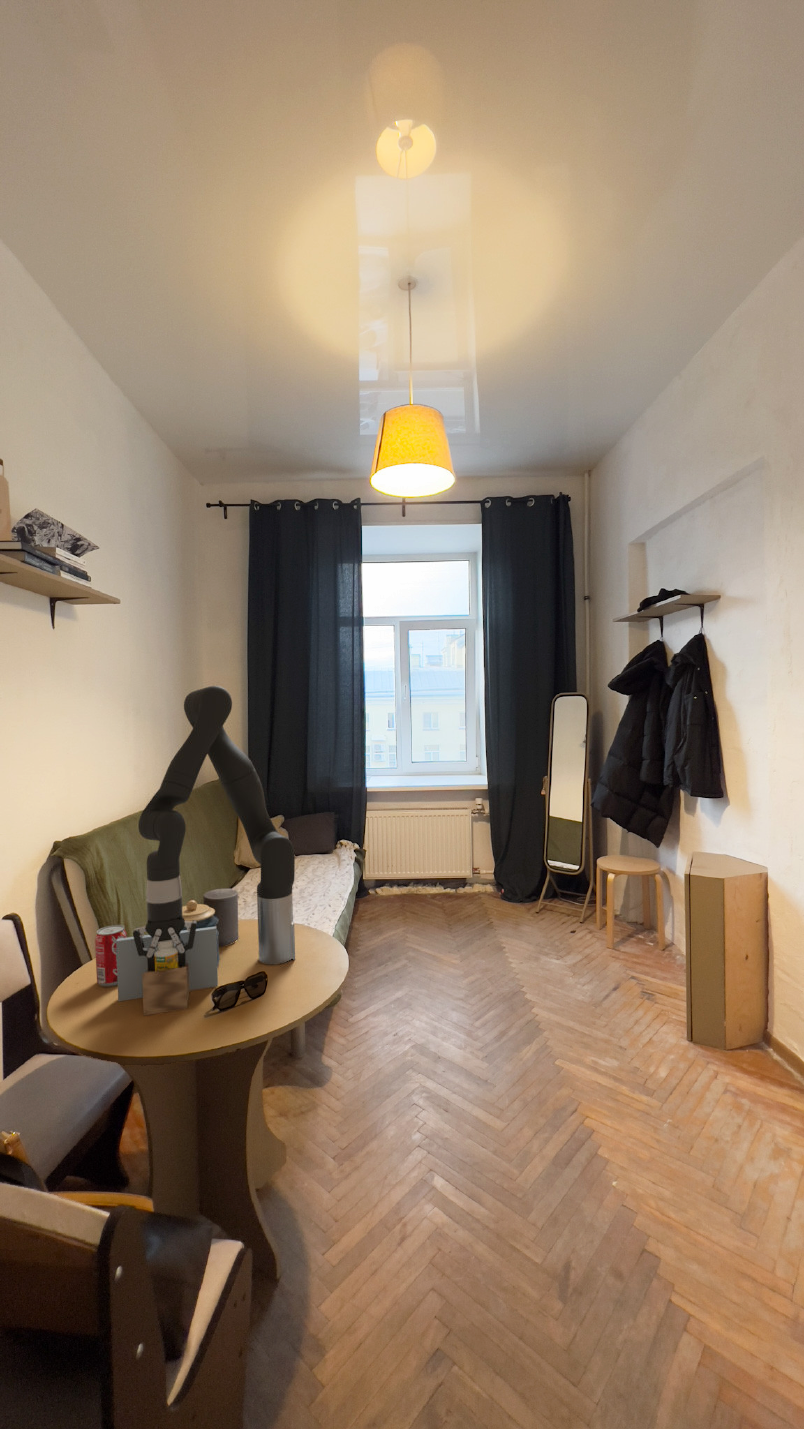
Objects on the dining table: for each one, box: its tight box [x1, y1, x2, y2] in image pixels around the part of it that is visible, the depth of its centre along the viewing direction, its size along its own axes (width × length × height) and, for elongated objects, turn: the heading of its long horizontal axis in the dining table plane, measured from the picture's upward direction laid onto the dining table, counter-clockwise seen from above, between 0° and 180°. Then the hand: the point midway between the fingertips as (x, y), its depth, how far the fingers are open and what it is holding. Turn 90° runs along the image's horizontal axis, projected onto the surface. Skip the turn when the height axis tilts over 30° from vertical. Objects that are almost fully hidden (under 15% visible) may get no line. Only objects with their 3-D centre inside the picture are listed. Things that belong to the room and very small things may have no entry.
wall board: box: [116, 927, 219, 1002], centre depth 143 cm, size 22×2×14 cm, turn 107°
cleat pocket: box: [142, 964, 190, 1016], centre depth 138 cm, size 9×9×9 cm
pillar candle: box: [202, 888, 239, 948], centre depth 174 cm, size 10×10×15 cm
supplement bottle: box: [154, 940, 179, 971], centre depth 138 cm, size 5×5×10 cm
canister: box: [181, 899, 221, 968], centre depth 156 cm, size 13×13×18 cm
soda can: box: [94, 924, 128, 987], centre depth 150 cm, size 7×7×13 cm
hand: (167, 969), depth 139 cm, fingers closed on supplement bottle, 5 cm apart
